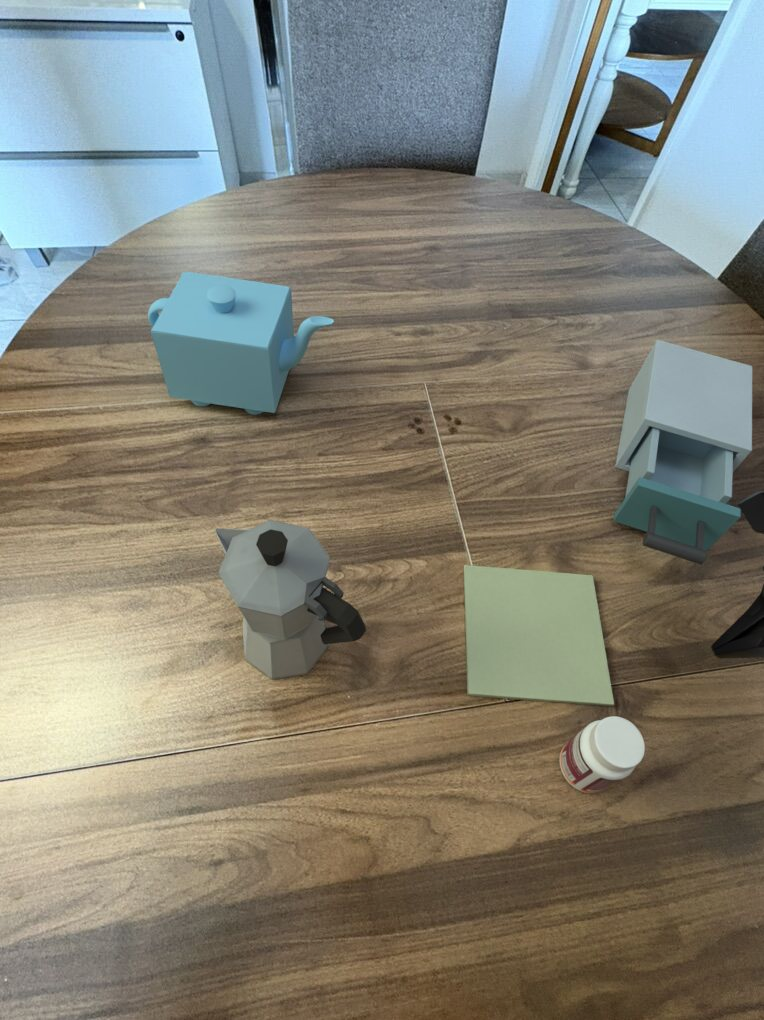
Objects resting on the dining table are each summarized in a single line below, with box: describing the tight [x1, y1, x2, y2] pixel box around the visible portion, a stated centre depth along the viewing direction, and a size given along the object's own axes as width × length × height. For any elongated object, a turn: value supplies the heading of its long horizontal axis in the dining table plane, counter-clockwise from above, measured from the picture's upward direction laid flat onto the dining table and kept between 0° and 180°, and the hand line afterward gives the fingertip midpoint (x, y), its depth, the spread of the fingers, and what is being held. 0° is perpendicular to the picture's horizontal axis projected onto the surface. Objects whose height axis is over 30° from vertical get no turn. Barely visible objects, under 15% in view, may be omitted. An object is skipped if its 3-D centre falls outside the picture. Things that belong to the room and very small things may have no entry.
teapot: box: [147, 270, 335, 415], centre depth 74 cm, size 22×11×14 cm, turn 82°
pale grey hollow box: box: [614, 339, 753, 473], centre depth 76 cm, size 15×12×9 cm
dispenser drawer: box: [612, 426, 742, 565], centre depth 69 cm, size 19×11×7 cm, turn 160°
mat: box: [463, 564, 615, 707], centre depth 62 cm, size 14×14×1 cm
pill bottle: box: [558, 715, 646, 794], centre depth 52 cm, size 5×5×8 cm
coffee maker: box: [214, 519, 367, 681], centre depth 53 cm, size 15×9×18 cm, turn 56°
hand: (714, 652), depth 49 cm, fingers closed
